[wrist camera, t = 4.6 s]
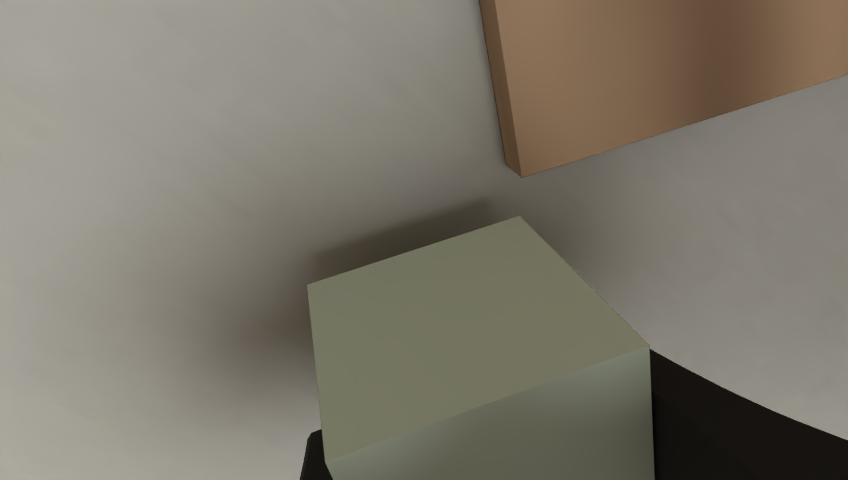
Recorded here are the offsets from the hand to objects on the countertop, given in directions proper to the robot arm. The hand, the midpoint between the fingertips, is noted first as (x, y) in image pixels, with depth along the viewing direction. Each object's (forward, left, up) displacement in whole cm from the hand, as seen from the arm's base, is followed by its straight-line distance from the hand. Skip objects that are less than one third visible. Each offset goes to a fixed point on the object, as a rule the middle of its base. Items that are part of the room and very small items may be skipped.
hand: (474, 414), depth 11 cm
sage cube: (0, 0, -3) cm, 3 cm away
